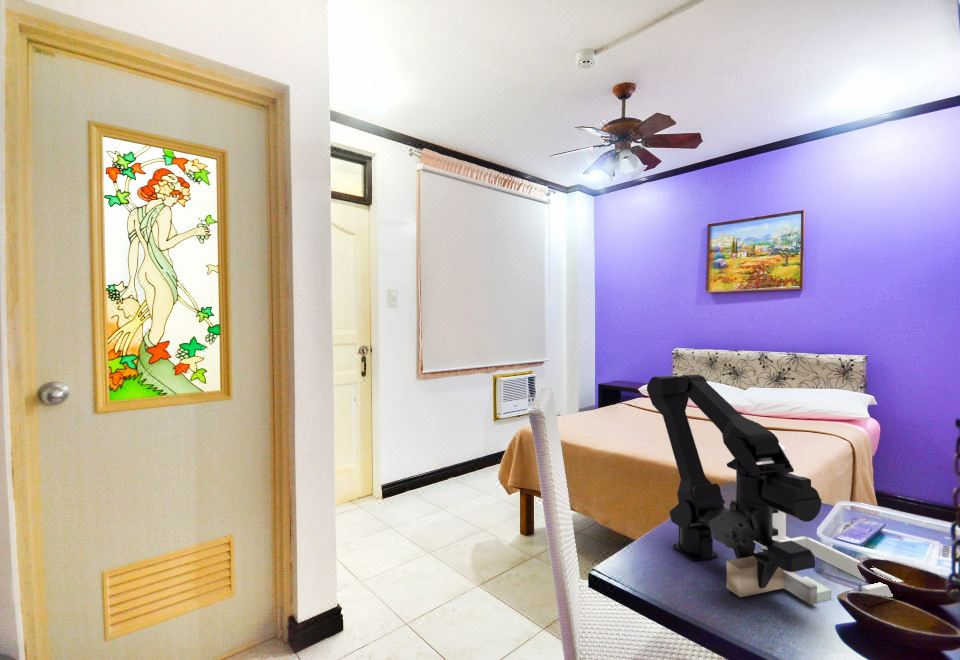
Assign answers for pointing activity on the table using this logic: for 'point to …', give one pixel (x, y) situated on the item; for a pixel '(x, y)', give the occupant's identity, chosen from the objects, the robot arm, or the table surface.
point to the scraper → (746, 581)
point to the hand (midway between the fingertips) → (754, 582)
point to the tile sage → (820, 590)
